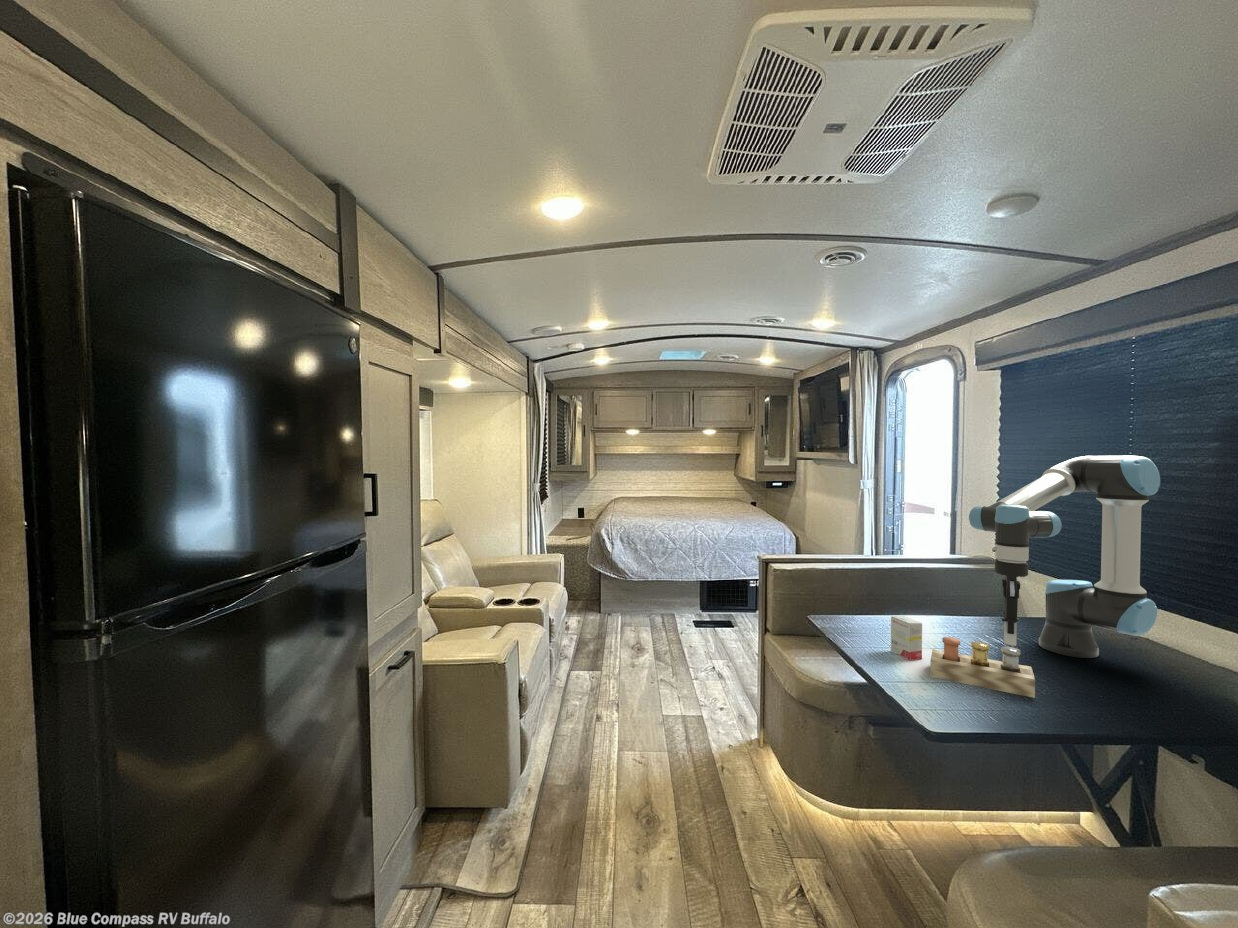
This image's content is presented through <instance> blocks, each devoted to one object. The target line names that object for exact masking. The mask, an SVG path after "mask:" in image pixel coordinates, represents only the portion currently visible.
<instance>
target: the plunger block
mask: <svg viewBox="0 0 1238 928" xmlns="http://www.w3.org/2000/svg"><path fill="white" fill-rule="evenodd" d="M930 655H931V656H930V662H929V663H930V665H929V666H930V668H929V669H930V671H929V672H930V674H929V675H930V677H931V678H935V679H940V680H945V681H948V682H949V681H950V682H955V683H961V684H964V685H970V686H974V687H979V688H984V689H990V690H994V691H999V692H1002V693H1003V692H1004V693H1009V694H1013V695H1019V696H1023V697H1028V698H1033V699H1035V698H1036V678H1035V675H1034V672H1033V671H1034V670H1033V668H1032V666H1029V665H1024V664H1023V665H1022V664H1019V673H1016V672H1011V671H1005V670H1002V667H1003V660H1002V661H1000V660H996V659H989V658H988V667H984V666H978V665H973V664H972V658H973V655H966V654H962V653H958V662H957V661H951V660H946V659H944V650H940V649H932V650H931V654H930Z"/></svg>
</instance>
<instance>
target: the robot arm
mask: <svg viewBox="0 0 1238 928" xmlns="http://www.w3.org/2000/svg"><path fill="white" fill-rule="evenodd" d="M1160 487H1161V475H1160V471H1159V469H1158V467H1157V466H1156V464H1155V463H1154V462H1153V461H1152V460H1151V459H1150V458H1148V457H1145V456H1139V455H1129V454H1128V455H1085V456H1078V457H1074V458H1071V459H1068V460H1066V461H1063V462H1060V463H1058V464H1056V465H1053V466H1052V467H1050V468H1048V469H1046V470H1044V472H1043V473H1042V475H1041V477H1038V478H1037V479H1035V480H1034V481H1032V482H1030V483H1028V484H1027V485H1025V486H1023V487H1021V488H1020V489H1018V490H1016V491H1014V492H1012V493H1011V494H1008V495H1007V496H1005V497H1003V498H1001V499H1000V500H998V501H997V502H995V503H993V504H991V505H988V506H986V505H979V506H977V505H976V506H974V507H973V508H971V510H970V511H969V513H968V514H969V515H968V520H969V524H970V526H971V527H972V528H974V529H975V530H979V531H984V532H991V533H992V532H993V533H995V540H994V543H995V544H994V546H993V547H992V548H991V549H992V551H995V552H994V557H995V560H994V572H995V574H998V575H1001V576H1005V579H1003V578H1002V579H1001V585H1002V595H1003V597H1004V598H1003V599H1004V600H1003V601H1004V603H1003V605H1004V606H1003V607H1004V608H1003V610H1004V611H1003V614H1004V616H1003V617H1002V618H1001V621H1002V622H1003V643H1004V645H1009V646H1014V647H1015V646H1016V647H1017V638H1018V637H1017V633H1018V632H1017V631H1018V630H1017V627H1018V626H1017V623H1018V622H1019V621H1020V619H1019V617H1018V606H1019V605H1018V602H1019V601H1018V599H1019V598H1020V590H1021V583H1020V580H1018V578H1019V577H1020V578H1025V577H1028V576H1029V563H1028V561H1029V558H1030V557H1029V556H1030V554H1029V552H1030V546H1029V540H1030V539H1046V538H1051V537H1054V536H1056V535H1058V534H1059V533H1060V532H1061V530H1062V520H1061V518H1060V517H1059V516H1058V515H1057V514H1056V513H1054V512H1052V511H1049V510H1048V511H1046V510H1038V509H1039V508H1041V507H1043V506H1045V505H1047V504H1048V503H1050V502H1051V501H1054V500H1055V499H1056V498H1059V497H1060V496H1061V497H1065V496H1069V495H1071V494H1072V493H1076V492H1077V493H1079V492H1082V493H1083V492H1084V493H1085V492H1090V493H1095V499H1096V500H1097V501H1098V502H1100V503H1101V504H1102V505H1101V506H1102V512H1101V513H1102V515H1101V517H1102V519H1101V557H1100V558H1101V559H1100V560H1101V561H1100V563H1101V565H1100V580H1099V581H1097V582H1096V583H1094V584H1093V583H1092V582H1091V581H1088V580H1078V579H1053V580H1049V581H1047V583H1046V584H1045V585H1046V586H1045V593H1044V595H1045V623H1044V625H1043V628H1042V631H1041V633H1040V635H1039V637H1038V646H1040V647H1041V648H1042V649H1043V650H1046V651H1048V652H1052V653H1054V654H1055V653H1056V654H1059V655H1063V656H1065V657H1066V656H1067V657H1072V658H1073V657H1074V658H1078V659H1079V658H1082V659H1093V658H1098V657H1099V654H1100V649H1099V647H1098V646H1099V645H1098V644H1097V641H1096V639H1095V635H1094V633H1093V630H1092V629H1093V626H1094V627H1098V628H1102V629H1105V630H1109V631H1113V632H1116V633H1119V634H1126V635H1128V636H1129V635H1130V636H1133V637H1134V636H1135V637H1140V636H1143V635H1145V634H1147V633H1148V632H1149V631H1150V630H1151V629H1152V628H1153V627H1154V626H1155V625H1154V624H1155V623H1156V620H1157V616H1158V607H1157V606H1156V605H1157V604H1156V603H1155V602H1154V601H1153V600H1152V599H1150V598H1148V597H1147V590H1146V589H1145V588H1144V587H1142V585H1141V542H1142V541H1141V539H1142V538H1141V536H1142V535H1141V534H1142V533H1141V532H1142V506H1143V505H1145V504H1146V503H1148V502H1149V501H1150V499H1149V498H1150V496H1153V495H1155V494H1156V493H1158V491H1159V488H1160ZM1036 510H1037V511H1036Z"/></svg>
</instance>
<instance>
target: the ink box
mask: <svg viewBox="0 0 1238 928" xmlns="http://www.w3.org/2000/svg"><path fill="white" fill-rule="evenodd" d="M890 652H892V653H894V654H896V655H898V656H900V657H903V658H905V659H907V660H909V661H914V660H915V661H916V660H922V659H923V623H922V622H920V621H917V620H915V619H914V618H913V619H912V618H910V617H908V616H905V615H892V616H890Z"/></svg>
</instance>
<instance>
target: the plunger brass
mask: <svg viewBox="0 0 1238 928" xmlns="http://www.w3.org/2000/svg"><path fill="white" fill-rule="evenodd" d="M970 647H971V649H972V656H973V658H972V664H973V665H978V666H984V667H988V659H989V651H990V645H989V644H988V643H986V642H983V641H982V642H981V641H971V642H970Z"/></svg>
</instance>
